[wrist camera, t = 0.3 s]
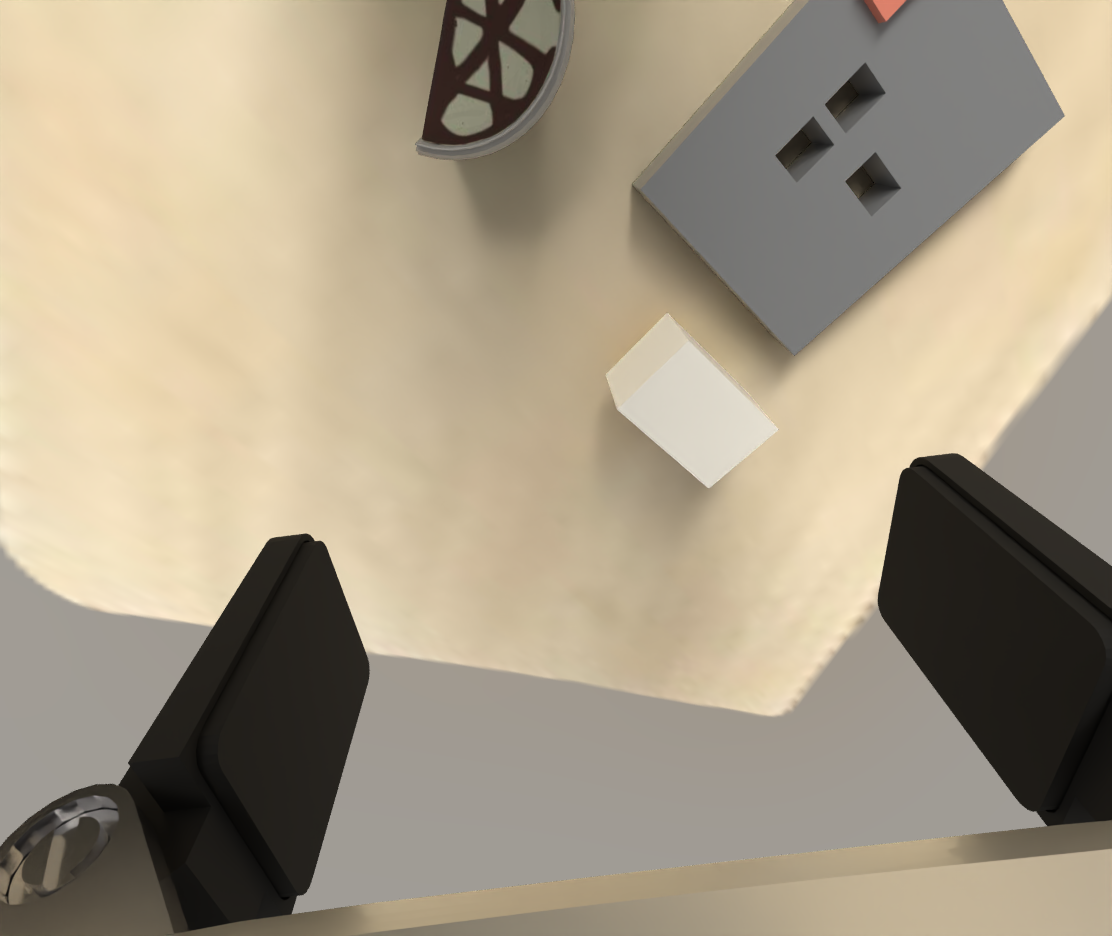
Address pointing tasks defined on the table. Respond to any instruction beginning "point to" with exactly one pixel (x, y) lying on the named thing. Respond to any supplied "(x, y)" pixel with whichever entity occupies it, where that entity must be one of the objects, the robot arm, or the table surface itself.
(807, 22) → the socket
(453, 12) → the food container
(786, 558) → the table surface
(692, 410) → the plug
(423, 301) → the table surface
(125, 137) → the table surface
